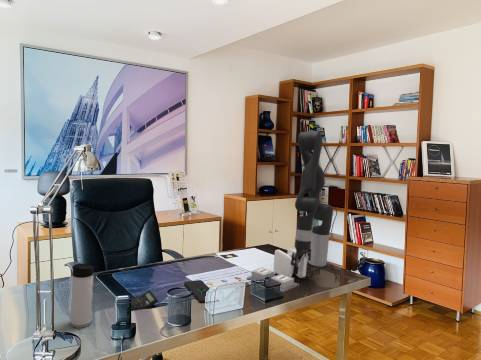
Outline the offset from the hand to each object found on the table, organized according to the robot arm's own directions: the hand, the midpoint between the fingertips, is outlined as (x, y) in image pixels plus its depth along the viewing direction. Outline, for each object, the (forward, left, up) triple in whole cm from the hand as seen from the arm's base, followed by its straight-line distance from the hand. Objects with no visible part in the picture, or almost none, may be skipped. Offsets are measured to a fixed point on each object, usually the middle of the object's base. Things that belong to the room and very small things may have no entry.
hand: (300, 271), depth 178 cm
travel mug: (+95, -25, -4) cm, 98 cm away
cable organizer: (0, -6, -4) cm, 7 cm away
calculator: (+72, -26, -4) cm, 77 cm away
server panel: (+14, -6, -4) cm, 15 cm away
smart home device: (+47, -19, -4) cm, 51 cm away
